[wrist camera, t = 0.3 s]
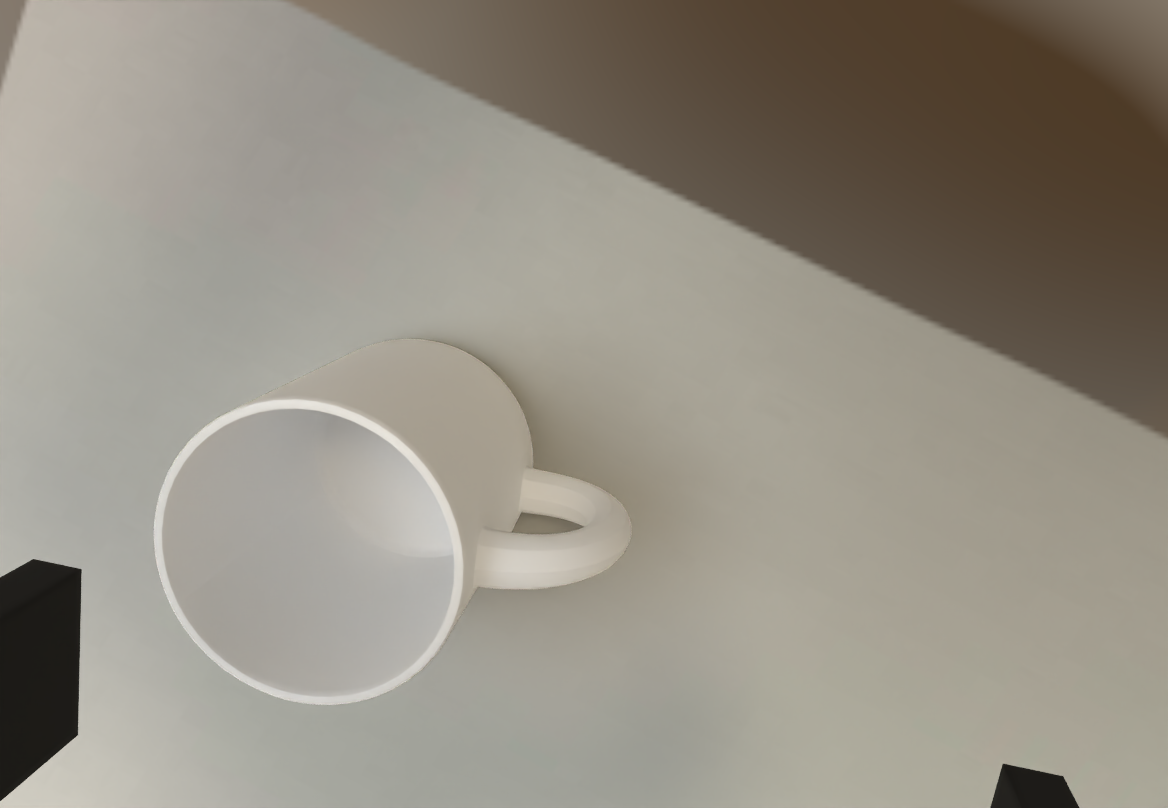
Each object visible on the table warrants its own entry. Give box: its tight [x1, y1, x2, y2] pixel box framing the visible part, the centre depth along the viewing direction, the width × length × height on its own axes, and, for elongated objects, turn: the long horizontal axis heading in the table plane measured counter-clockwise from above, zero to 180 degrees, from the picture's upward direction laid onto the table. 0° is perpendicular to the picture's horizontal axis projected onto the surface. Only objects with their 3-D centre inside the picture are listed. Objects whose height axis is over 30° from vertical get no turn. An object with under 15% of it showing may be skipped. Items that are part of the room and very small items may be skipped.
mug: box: [154, 339, 631, 705], centre depth 31 cm, size 12×8×10 cm
